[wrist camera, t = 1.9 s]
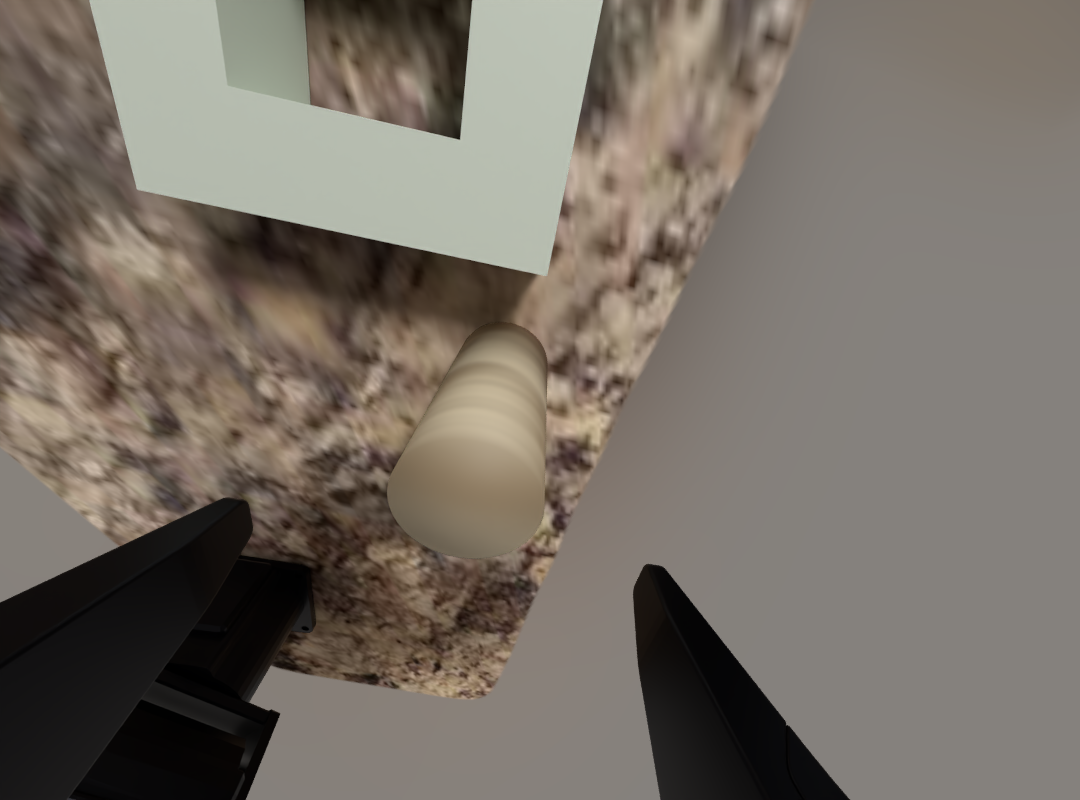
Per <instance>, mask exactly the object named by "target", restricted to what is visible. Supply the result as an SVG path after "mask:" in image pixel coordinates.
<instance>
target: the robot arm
mask: <svg viewBox="0 0 1080 800" xmlns="http://www.w3.org/2000/svg"><path fill="white" fill-rule="evenodd" d="M252 531H253V524H252V518H251V513H250V508H249V504H248V502H247V501H246V500H243V499H236V498H230V497H227V498H222V499H220V500H218V501H216V502H214V503H211V504H209V505H207V506H205V507H203V508H201V509H199V510H196V511H194V512H192V513H190V514H188V515H186V516H184V517H182V518H179V519H177V520H175V521H173V522H171V523H169V524H167V525H164V526H162V527H160V528H158V529H156V530H154V531H152V532H150V533H147V534H145V535H143V536H141V537H139V538H137V539H135V540H133V541H130V542H128V543H126V544H124V545H122V546H120V547H118V548H116V549H113V550H111V551H109V552H107V553H105V554H103V555H101V556H98V557H96V558H94V559H92V560H90V561H88V562H86V563H83V564H81V565H79V566H77V567H75V568H73V569H71V570H69V571H67V572H64V573H62V574H60V575H58V576H56V577H54V578H52V579H49V580H48V581H45V582H43V583H41V584H39V585H37V586H35V587H32V588H30V589H28V590H26V591H24V592H22V593H20V594H18V595H15V596H13V597H11V598H9V599H7V600H5V601H3V602H0V800H246V798H247V795H248V793H249V790H250V788H251V785H252V783H253V780H254V778H255V775H256V773H257V770H258V768H259V765H260V763H261V760H262V758H263V755H264V753H265V751H266V748H267V746H268V743H269V740H270V738H271V736H272V733H273V731H274V728H275V726H276V723H277V721H278V718H279V716H280V713H278V712H276V711H274V710H269V711H268V710H265V709H263V708H261V707H258V706H256V705H253V704H251V703H249V702H250V700H251V698H252V696H253V695H254V693H255V691H256V690H257V688H258V686H259V684H260V683H261V681H262V679H263V678H264V676H265V674H266V673H267V671H268V669H269V667H270V666H271V664H272V662H273V661H274V659H275V657H276V656H277V654H278V652H279V650H280V649H281V647H282V645H283V644H284V642H285V640H286V639H287V637H288V635H289V633H290V632H291V631H297V632H304V633H310V632H312V631H313V629H314V627H315V625H316V622H315V613H314V605H313V596H312V587H311V579H310V571H309V569H308V568H307V567H306V566H303V565H299V564H292V563H286V562H279V561H272V560H266V559H259V558H252V557H246V556H239V555H240V554H241V552H242V550H243V549H244V547H245V545H246V544H247V542H248V540H249V539H250V537H251V534H252ZM633 600H634V616H635V631H636V645H637V658H638V667H639V675H640V681H641V687H642V693H643V699H644V704H645V711H646V716H647V722H648V728H649V734H650V740H651V745H652V752H653V758H654V763H655V769H656V775H657V782H658V787H659V793H660V799H661V800H850V799H849V798H848V797H847V796H846V795H845V794H844V792H843V791H842V790H841V789H840V788H839V786H838V785H837V784H836V783H835V782H834V781H833V779H832V778H831V777H830V776H829V775H828V773H827V772H826V771H825V770H824V768H823V767H822V766H821V765H820V764H819V762H818V761H817V760H816V759H815V758H814V756H813V755H812V754H811V752H810V751H809V750H808V749H807V748H806V746H805V745H804V744H803V743H802V742H801V740H800V739H799V737H798V736H797V735H796V734H795V732H794V731H793V730H792V729H791V728H790V726H788V725H786V722H785V720H784V719H783V717H782V716H781V715H780V714H779V712H778V711H777V710H776V709H775V707H774V706H773V705H772V704H771V702H770V701H769V700H768V699H767V697H766V696H765V695H764V693H763V692H762V691H761V689H760V688H759V687H758V686H757V684H756V683H755V682H754V681H753V680H752V678H751V677H750V676H749V674H748V673H747V672H746V670H745V669H744V668H743V667H742V665H741V664H740V663H739V662H738V660H737V659H736V658H735V657H734V655H733V654H732V653H731V651H730V650H729V649H728V648H727V646H726V645H725V644H724V643H723V641H722V640H721V639H720V638H719V636H718V635H717V634H716V632H715V631H714V630H713V629H712V627H711V626H710V625H709V624H708V622H707V621H706V620H705V619H704V617H703V616H702V615H701V613H700V612H699V611H698V610H697V608H696V607H695V606H694V605H693V603H692V602H691V601H690V599H689V598H688V597H687V596H686V594H685V593H684V592H683V591H682V589H681V588H680V587H679V586H678V584H677V583H676V582H675V581H674V579H673V578H672V577H671V575H670V574H669V573H668V572H667V571H666V569H665V568H664V567H662V566H659V565H652V564H646V565H645V566H644V567H643V569H642V571H641V573H640V575H639V577H638V579H637V581H636V584H635V586H634V590H633Z"/></svg>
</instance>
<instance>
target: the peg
mask: <svg viewBox="0 0 1080 800" xmlns="http://www.w3.org/2000/svg"><path fill="white" fill-rule="evenodd" d="M546 409H547V357H546V353H545V350H544V348H543V346H542V344H541V343H540V341H539V340H538V339H537V338H536V337H535V336H534V335H533V334H532V333H531V332H529V331H528V330H526V329H525V328H523V327H521V326H518V325H515V324H512V323H505V322H498V323H491V324H487V325H485V326H482V327H480V328H479V329H477V330H476V331H474V332H473V333H472V334H471V335H470V336H469V337H468V338H467V340H466V341H465V343H464V345H463V346H462V348H461V350H460V352H459V353H458V355H457V357H456V359H455V361H454V362H453V364H452V366H451V368H450V370H449V371H448V373H447V375H446V377H445V378H444V380H443V382H442V384H441V386H440V387H439V389H438V391H437V393H436V395H435V396H434V398H433V400H432V402H431V403H430V405H429V407H428V409H427V411H426V412H425V414H424V416H423V418H422V420H421V421H420V423H419V425H418V427H417V428H416V430H415V432H414V434H413V436H412V437H411V439H410V441H409V443H408V445H407V446H406V448H405V450H404V452H403V453H402V455H401V457H400V459H399V461H398V462H397V464H396V466H395V468H394V470H393V472H392V474H391V476H390V478H389V482H388V488H387V497H388V503H389V507H390V510H391V512H392V514H393V516H394V518H395V520H396V521H397V523H398V524H399V525H400V526H401V528H402V529H403V530H404V531H405V532H406V533H407V534H408V535H409V536H411V537H412V538H413V539H414V540H416V541H417V542H419V543H420V544H422V545H424V546H426V547H427V548H429V549H431V550H434V551H436V552H439V553H442V554H445V555H449V556H453V557H458V558H467V559H481V558H490V557H496V556H499V555H503V554H506V553H508V552H511V551H513V550H515V549H517V548H519V547H520V546H522V545H523V544H524V543H526V542H527V541H528V540H529V539H530V538H531V537H532V536H533V535H534V534H535V532H536V531H537V529H538V528H539V526H540V524H541V521H542V519H543V514H544V499H545V454H546Z"/></svg>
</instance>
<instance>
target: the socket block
mask: <svg viewBox="0 0 1080 800" xmlns="http://www.w3.org/2000/svg"><path fill="white" fill-rule="evenodd" d="M89 1H90V5H91V9H92V13H93V17H94V21H95V25H96V29H97V32H98V36H99V40H100V44H101V48H102V52H103V56H104V60H105V64H106V68H107V72H108V76H109V80H110V84H111V88H112V92H113V96H114V100H115V104H116V108H117V112H118V116H119V120H120V124H121V127H122V131H123V135H124V139H125V143H126V147H127V151H128V155H129V159H130V163H131V167H132V171H133V175H134V179H135V183H136V187H137V190H142V191H146V192H151V193H156V194H160V195H165V196H170V197H175V198H179V199H184V200H189V201H194V202H198V203H203V204H208V205H212V206H217V207H222V208H227V209H231V210H236V211H241V212H246V213H250V214H255V215H260V216H264V217H269V218H274V219H279V220H283V221H288V222H293V223H298V224H302V225H307V226H312V227H316V228H321V229H326V230H331V231H335V232H340V233H345V234H350V235H354V236H359V237H364V238H368V239H373V240H378V241H383V242H387V243H392V244H397V245H402V246H406V247H411V248H416V249H420V250H425V251H430V252H435V253H439V254H444V255H449V256H454V257H458V258H463V259H468V260H472V261H477V262H482V263H487V264H491V265H496V266H501V267H506V268H510V269H515V270H520V271H525V272H529V273H534V274H539V275H543V276H547V273H548V268H549V263H550V258H551V254H552V249H553V244H554V239H555V234H556V229H557V224H558V219H559V214H560V209H561V204H562V199H563V194H564V190H565V185H566V180H567V175H568V170H569V165H570V160H571V155H572V150H573V145H574V140H575V135H576V130H577V126H578V121H579V116H580V111H581V106H582V101H583V96H584V91H585V86H586V81H587V76H588V71H589V66H590V61H591V57H592V52H593V47H594V42H595V37H596V32H597V27H598V22H599V17H600V12H601V7H602V2H603V0H472V10H471V21H470V33H469V44H468V56H467V67H466V79H465V90H464V102H463V113H462V125H461V136H460V140H458V139H454V138H449V137H445V136H441V135H436V134H432V133H428V132H424V131H419V130H415V129H411V128H406V127H402V126H398V125H394V124H389V123H385V122H381V121H376V120H372V119H368V118H364V117H359V116H355V115H351V114H346V113H342V112H338V111H334V110H329V109H325V108H321V107H316V106H312V105H311V104H310V88H309V72H308V56H307V40H306V24H305V8H304V0H89Z"/></svg>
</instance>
